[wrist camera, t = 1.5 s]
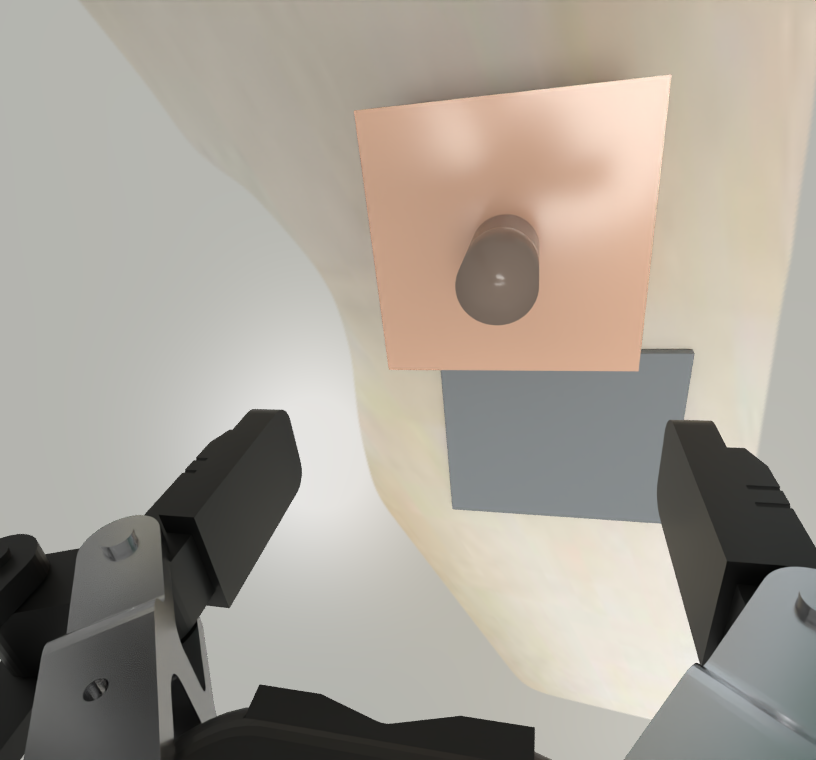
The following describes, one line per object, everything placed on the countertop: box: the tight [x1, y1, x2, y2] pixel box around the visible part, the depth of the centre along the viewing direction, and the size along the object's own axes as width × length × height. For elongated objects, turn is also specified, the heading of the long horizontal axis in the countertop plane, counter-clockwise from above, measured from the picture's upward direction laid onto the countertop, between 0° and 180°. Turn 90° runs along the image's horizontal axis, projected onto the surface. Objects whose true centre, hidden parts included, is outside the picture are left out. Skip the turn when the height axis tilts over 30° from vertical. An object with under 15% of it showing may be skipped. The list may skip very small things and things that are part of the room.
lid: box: [354, 75, 671, 371], centre depth 23 cm, size 13×13×6 cm
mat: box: [441, 350, 694, 523], centre depth 38 cm, size 16×14×1 cm
